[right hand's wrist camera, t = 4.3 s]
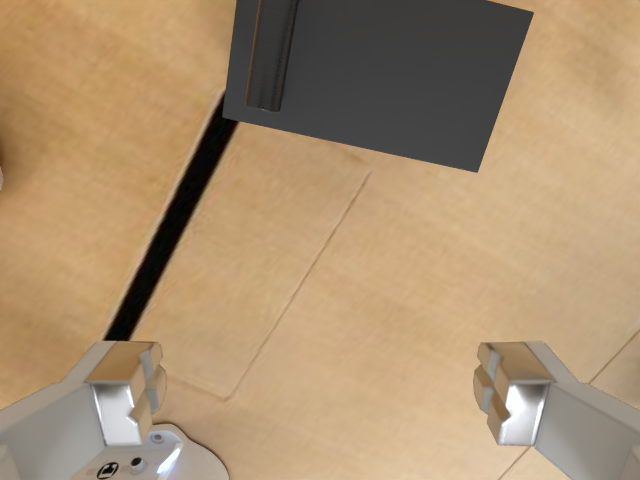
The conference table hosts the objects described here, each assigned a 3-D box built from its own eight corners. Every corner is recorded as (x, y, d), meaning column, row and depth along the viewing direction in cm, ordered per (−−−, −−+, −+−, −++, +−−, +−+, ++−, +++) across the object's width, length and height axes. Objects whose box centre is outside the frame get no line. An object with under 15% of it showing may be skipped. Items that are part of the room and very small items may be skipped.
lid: (225, 116, 28) (185, 131, 20) (246, -56, 25) (209, -125, 17) (472, 170, 30) (532, 205, 21) (526, 14, 26) (623, -17, 18)
